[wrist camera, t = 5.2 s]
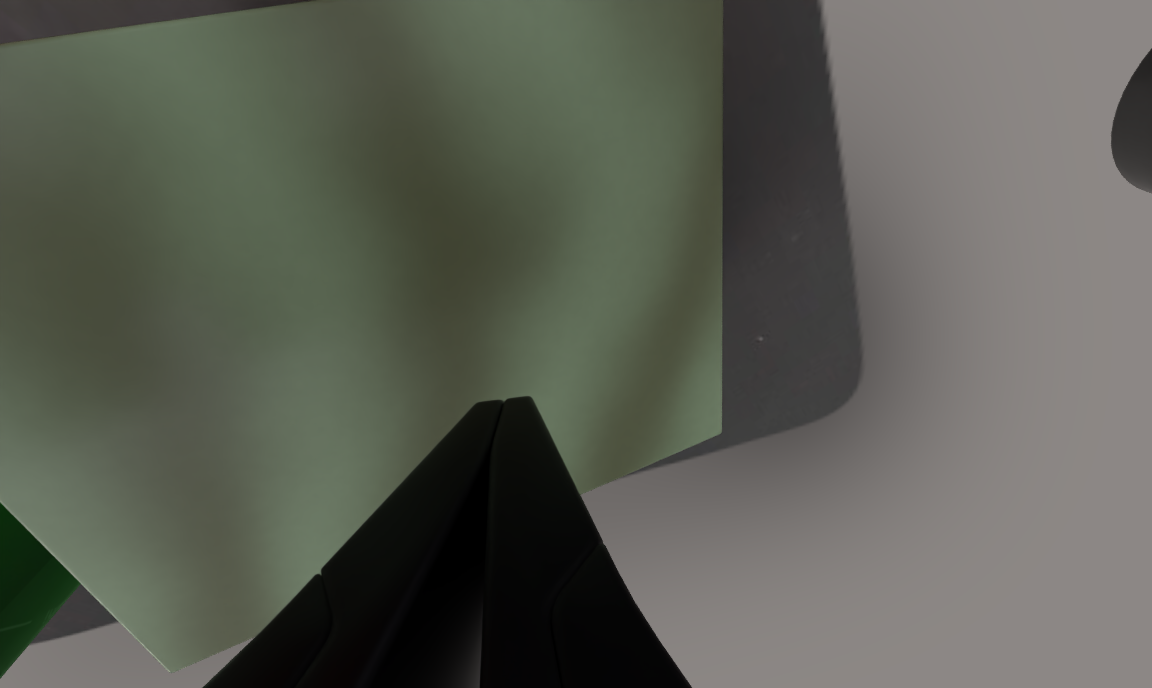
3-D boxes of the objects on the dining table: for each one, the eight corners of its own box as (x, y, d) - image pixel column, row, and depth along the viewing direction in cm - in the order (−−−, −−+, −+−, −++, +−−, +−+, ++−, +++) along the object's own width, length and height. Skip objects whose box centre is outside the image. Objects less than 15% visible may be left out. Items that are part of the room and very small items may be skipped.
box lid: (176, 642, 12) (169, 675, 12) (-333, 94, 6) (-407, 99, 6) (706, 418, 16) (722, 433, 16) (699, -51, 10) (725, -57, 10)
